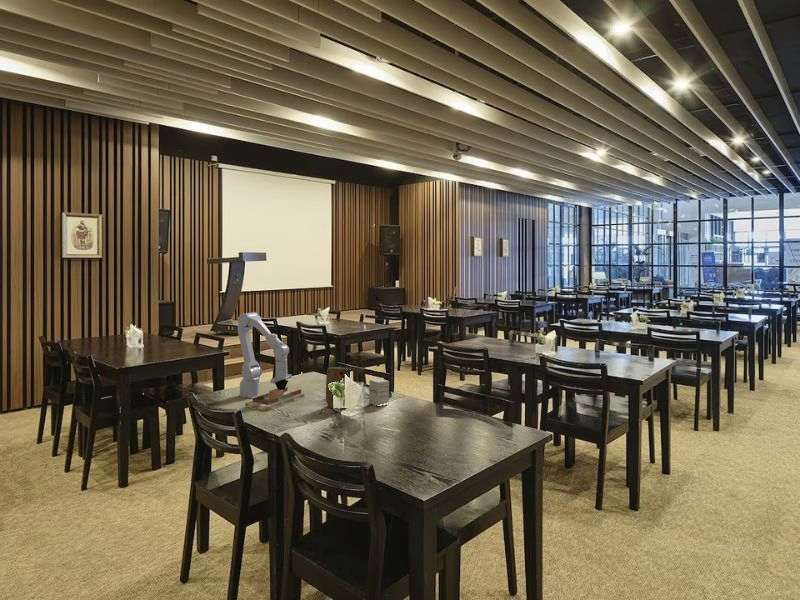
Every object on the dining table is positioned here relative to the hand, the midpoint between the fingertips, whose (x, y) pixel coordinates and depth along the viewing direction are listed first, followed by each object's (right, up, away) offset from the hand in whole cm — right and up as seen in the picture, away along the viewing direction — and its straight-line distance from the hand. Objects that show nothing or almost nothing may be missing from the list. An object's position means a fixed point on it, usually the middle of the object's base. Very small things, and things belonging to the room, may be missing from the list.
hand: (281, 394), depth 262 cm
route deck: (-2, -3, -3) cm, 5 cm away
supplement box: (+50, -5, -3) cm, 51 cm away
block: (+30, -5, -10) cm, 32 cm away
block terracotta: (-2, -1, -4) cm, 4 cm away
